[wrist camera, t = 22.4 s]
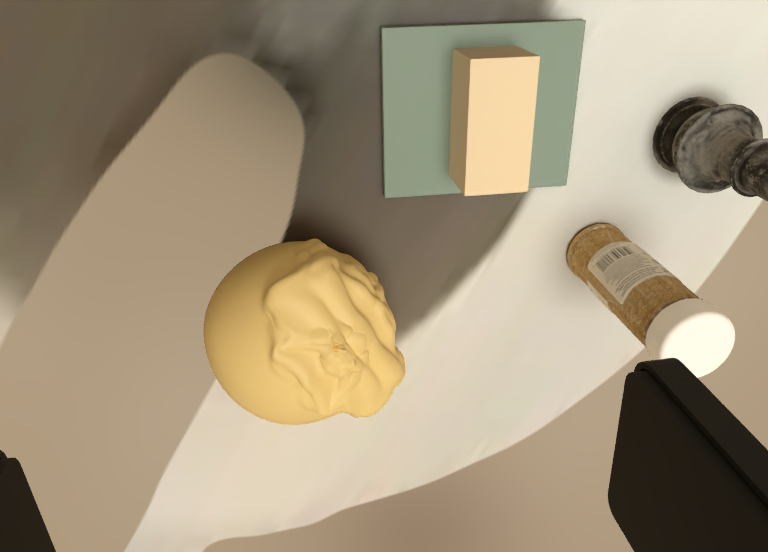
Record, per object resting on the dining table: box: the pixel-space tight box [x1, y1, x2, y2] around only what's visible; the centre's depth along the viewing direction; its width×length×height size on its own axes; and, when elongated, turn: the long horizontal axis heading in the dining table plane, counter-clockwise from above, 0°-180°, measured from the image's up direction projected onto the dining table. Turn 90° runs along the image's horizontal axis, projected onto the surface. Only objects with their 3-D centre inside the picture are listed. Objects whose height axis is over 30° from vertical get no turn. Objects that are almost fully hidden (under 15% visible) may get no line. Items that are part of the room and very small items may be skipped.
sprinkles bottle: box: [567, 224, 735, 378], centre depth 43 cm, size 5×5×13 cm
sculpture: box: [204, 239, 405, 425], centre depth 42 cm, size 12×12×11 cm
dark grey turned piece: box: [653, 97, 768, 201], centre depth 40 cm, size 6×6×12 cm
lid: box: [380, 19, 586, 198], centre depth 40 cm, size 13×11×5 cm
